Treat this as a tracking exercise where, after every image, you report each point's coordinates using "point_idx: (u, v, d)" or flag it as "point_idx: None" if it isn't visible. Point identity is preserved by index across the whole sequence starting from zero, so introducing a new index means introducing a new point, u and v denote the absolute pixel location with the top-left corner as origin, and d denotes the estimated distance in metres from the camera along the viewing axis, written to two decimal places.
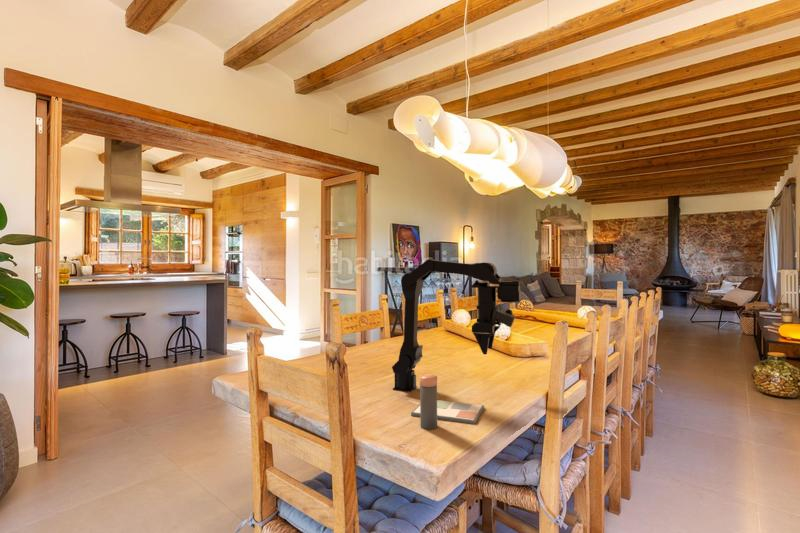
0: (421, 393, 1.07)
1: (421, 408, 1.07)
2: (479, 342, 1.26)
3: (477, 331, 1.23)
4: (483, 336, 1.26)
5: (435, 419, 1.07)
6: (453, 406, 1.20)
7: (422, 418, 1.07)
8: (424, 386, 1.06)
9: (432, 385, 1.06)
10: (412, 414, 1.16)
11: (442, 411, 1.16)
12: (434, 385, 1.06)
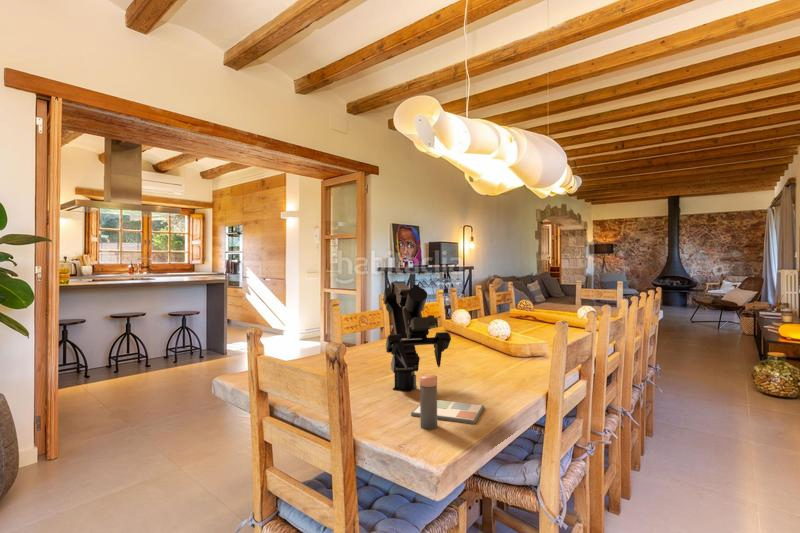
0: (421, 393, 1.07)
1: (421, 408, 1.07)
2: (400, 359, 1.18)
3: (386, 348, 1.20)
4: (400, 351, 1.19)
5: (435, 419, 1.07)
6: (453, 406, 1.20)
7: (422, 418, 1.07)
8: (424, 386, 1.06)
9: (432, 385, 1.06)
10: (412, 414, 1.16)
11: (442, 411, 1.16)
12: (434, 385, 1.06)
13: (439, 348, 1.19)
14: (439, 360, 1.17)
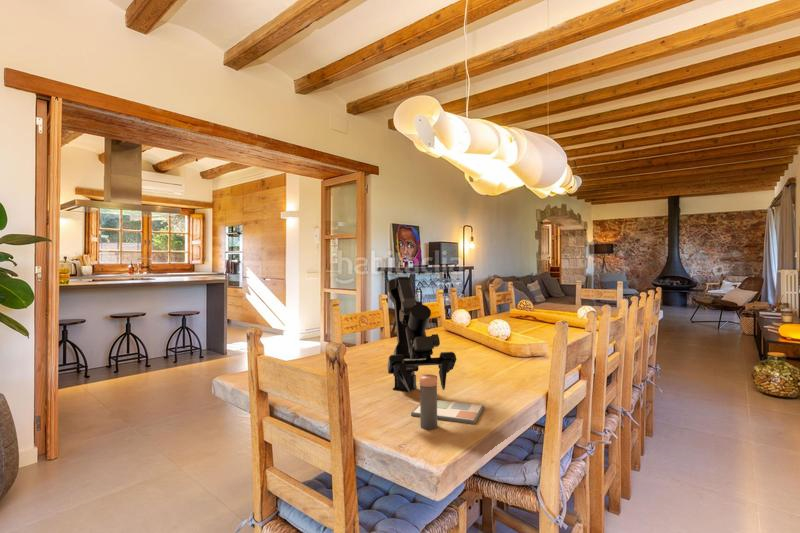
0: (421, 393, 1.07)
1: (421, 408, 1.07)
2: (402, 381, 1.12)
3: (388, 369, 1.14)
4: None
5: (435, 419, 1.07)
6: (453, 406, 1.20)
7: (422, 418, 1.07)
8: (424, 386, 1.06)
9: (432, 385, 1.06)
10: (412, 414, 1.16)
11: (442, 411, 1.16)
12: (434, 385, 1.06)
13: (444, 369, 1.13)
14: (444, 382, 1.11)
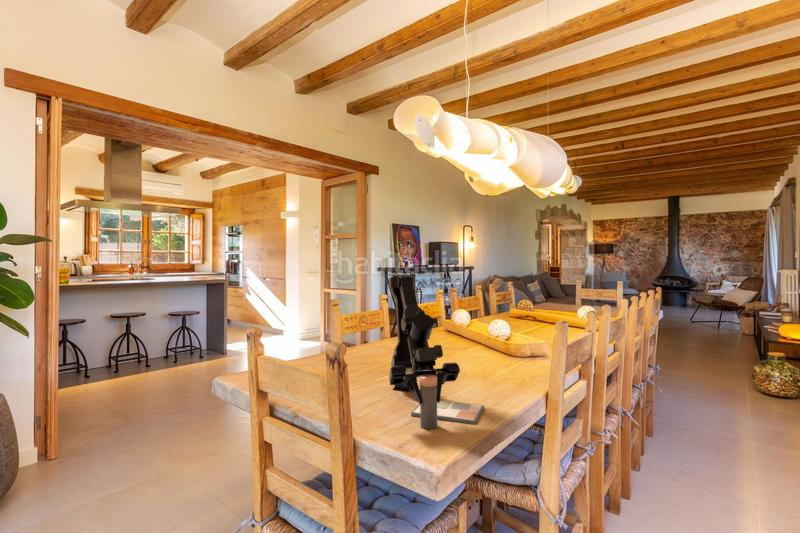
0: (421, 393, 1.07)
1: (421, 408, 1.07)
2: (412, 392, 1.10)
3: (390, 380, 1.11)
4: None
5: (435, 419, 1.07)
6: (453, 406, 1.20)
7: (422, 418, 1.07)
8: (424, 386, 1.06)
9: (432, 385, 1.06)
10: (412, 414, 1.16)
11: (442, 411, 1.16)
12: (434, 385, 1.06)
13: (439, 381, 1.10)
14: (439, 395, 1.08)
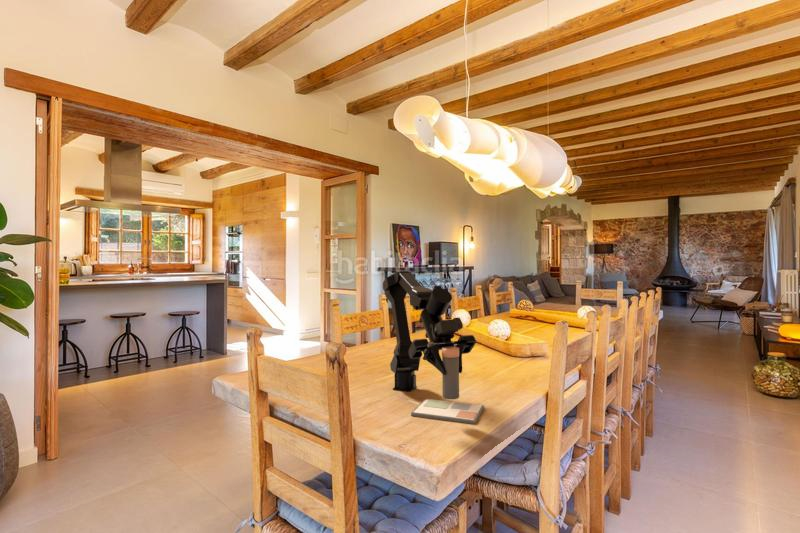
0: (444, 364, 1.09)
1: (444, 379, 1.09)
2: (434, 365, 1.11)
3: (411, 354, 1.12)
4: (434, 356, 1.12)
5: (458, 389, 1.09)
6: (453, 406, 1.20)
7: (446, 389, 1.09)
8: (448, 357, 1.08)
9: (456, 356, 1.08)
10: (412, 414, 1.16)
11: (442, 411, 1.16)
12: (457, 356, 1.09)
13: (459, 353, 1.13)
14: (460, 365, 1.11)
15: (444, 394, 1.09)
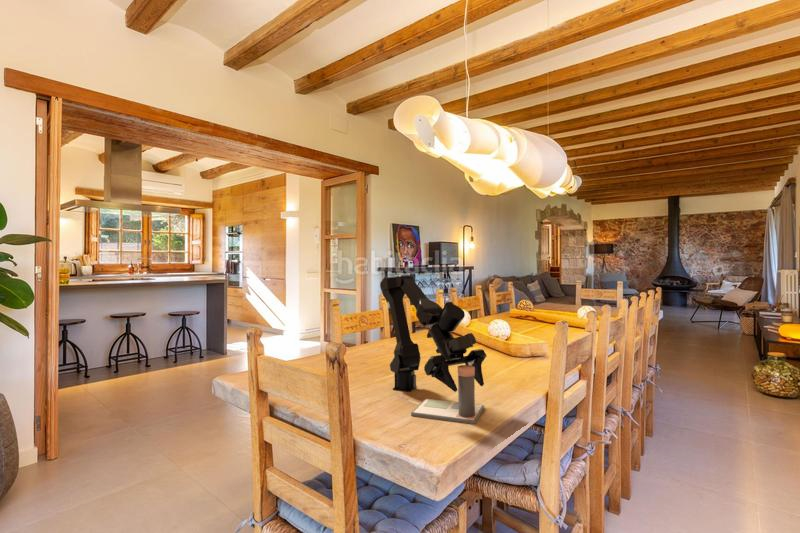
0: (462, 383, 1.12)
1: (461, 398, 1.12)
2: (444, 382, 1.12)
3: (428, 371, 1.13)
4: (443, 373, 1.13)
5: (474, 406, 1.13)
6: (453, 406, 1.20)
7: (463, 407, 1.12)
8: (465, 376, 1.11)
9: (473, 374, 1.12)
10: (412, 414, 1.16)
11: (442, 411, 1.16)
12: (474, 374, 1.12)
13: (478, 366, 1.17)
14: (482, 379, 1.15)
15: (461, 412, 1.12)
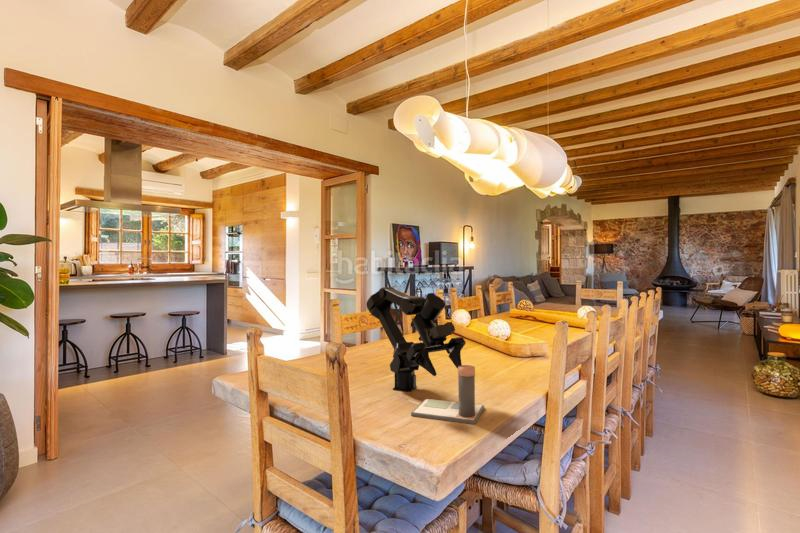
0: (462, 383, 1.12)
1: (462, 397, 1.12)
2: (424, 367, 1.21)
3: (409, 357, 1.21)
4: (424, 359, 1.21)
5: (474, 406, 1.13)
6: (453, 406, 1.20)
7: (463, 407, 1.12)
8: (466, 376, 1.11)
9: (473, 374, 1.12)
10: (412, 414, 1.16)
11: (442, 411, 1.16)
12: (474, 374, 1.12)
13: (458, 353, 1.25)
14: (460, 364, 1.23)
15: (461, 412, 1.12)
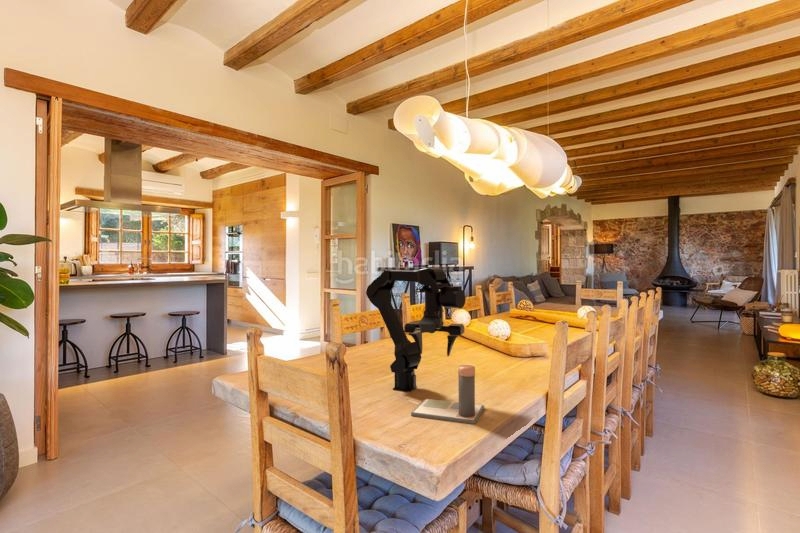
0: (462, 383, 1.12)
1: (462, 397, 1.12)
2: None
3: None
4: None
5: (474, 406, 1.13)
6: (453, 406, 1.20)
7: (463, 407, 1.12)
8: (466, 376, 1.11)
9: (473, 374, 1.12)
10: (412, 414, 1.16)
11: (442, 411, 1.16)
12: (474, 374, 1.12)
13: (449, 341, 1.30)
14: (448, 351, 1.31)
15: (461, 412, 1.12)
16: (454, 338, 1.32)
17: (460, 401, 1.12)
